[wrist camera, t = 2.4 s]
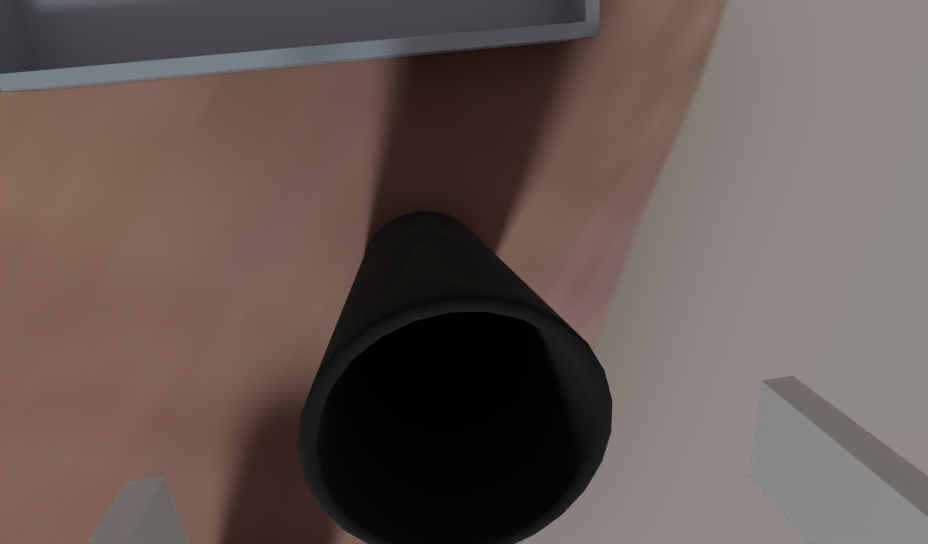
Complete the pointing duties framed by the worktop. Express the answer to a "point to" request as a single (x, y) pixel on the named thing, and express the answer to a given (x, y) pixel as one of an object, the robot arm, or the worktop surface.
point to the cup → (450, 397)
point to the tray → (257, 35)
